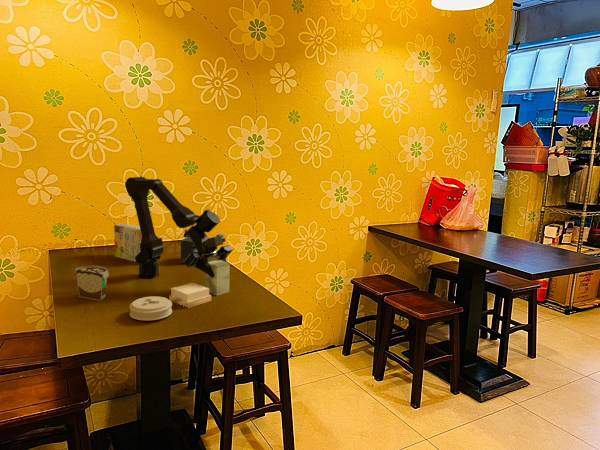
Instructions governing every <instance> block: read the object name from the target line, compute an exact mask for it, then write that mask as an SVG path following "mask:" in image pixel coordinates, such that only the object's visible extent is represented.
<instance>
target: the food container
mask: <svg viewBox="0 0 600 450" xmlns="http://www.w3.org/2000/svg"><path fill="white" fill-rule="evenodd" d="M74 275H76V282H77V285H76V286H77V291H78V298H84V299H88V300H94V301H97V302H102V301H104V300H105V299H106V295H107V281H108V277H109V276H110V273H109V270H108V268H107V267H105V266H102V265H100V266H99V265H86V266H79V267H75V270H74Z"/></svg>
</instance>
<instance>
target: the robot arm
mask: <svg viewBox="0 0 600 450" xmlns="http://www.w3.org/2000/svg"><path fill="white" fill-rule="evenodd" d="M124 187H125V190H126V192H127V194H128V196H129V198H130V199H131V200H132V201H133V204H134V207H135V208H134V209H135V212H136V216H137V221H138V226H139V227H140V230H141V234H142V240H141V243H140V252H139V254H138V255H137V256H136V257H135V260H136V262H135V263H137V264H138V273H139V274H138V275H137V278H139V279H140V278H141V279H143V278H144V279H154V278H156V277H158V276H159V275H160V271H159V269H160V268H159V267H160V266H159V264H158V260H160V259H161V256H162V255H163V253H164V248H165V245H164V242H163V238H162V237H158V236H157V235H156V232H155V228H154V223H153V219H152V215H151V211H150V205H149V201H148V196H149V193H150V191H152V193H153V194H154V195H155V196H156V197H157V198H158V199H159V201H161V202H160V203H162V204H163V206H165V208H167V210H168V211H169V213H170V214H171V218H172V221H173V222H174V223H175V225H176V226H177V228H179V229H185V228H188V229H185V230H184V233H183V236H182V237H183V238H187V237H190V239H191V240H192V242H193V244H194V247H193V249H194V250H196V249H197V251H198V252H193V253H190V255H189V256H188V257H187V258H186V260H185V263H184V264H185V266H186V268H192V267H193V268H194V269H195V268H196V269H198V270H199V271H201V272H203V273H205V275H206V274H208V275H209V276H211V277H212V278H213V277H214V276H215V275H214V273H213V271H212V269H211V267H210V265H209V264H208V262H209V259H212V258H215V259H216V260H222V261H226V262H227V258H228V257H229V255H231V253H232V252H233V251H234V249H233V248H232V246H231V245H224V242H226V237H225V235H224V234H223V233H220V234H217V235H216V236H212V237H211V236H208V235H207V233H211V231H213V229H215V228H216V226H218V225H219V224H220V223H221V219H220V217H219V215H218V214H215V212H213V211H211V210H210V209H209V208H207V209H205V210H204V211H203V212H202V213H201V215H199V214H196V213H195V212H194V211H193V210H191V209H190V208H189V207H188V206H186V205H184V204H181V202H180V201H179V200H178V199H177V198H176V197H175V196H174V194H173V193H172V192H171V191H170V190H169V189H168V187H166V186H165V184H164V183H163V181H162V180H161V179H159V178H151V179H150V178H149V179H148V178H146V177H145V176H133V177H131V176H130V177H129V178H127V179H126V181H125V182H124ZM222 245H223V246H222ZM219 246H220V247H219ZM218 248H219V249H218ZM194 262H195V263H194Z"/></svg>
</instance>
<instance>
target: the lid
mask: <svg viewBox="0 0 600 450" xmlns="http://www.w3.org/2000/svg"><path fill="white" fill-rule="evenodd" d="M172 307H173V302H172V301H170V300H169V299H168V298H167V297H163V296H155V295H154V296H153V295H151V296H144V297H141V298H137V299H135V300H134V301H132V302H131V303H130V304H129V310H130V311H129V316H130V317H131V318H132V319H135V320H139V321H156V320H160V319H161V320H162V319H165V318H166V317H169V316H170V315H172V314H173V309H172Z"/></svg>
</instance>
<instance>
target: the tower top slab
mask: <svg viewBox="0 0 600 450" xmlns="http://www.w3.org/2000/svg"><path fill="white" fill-rule="evenodd" d="M170 289H171V290H170V292H171V293H170V295H172V296H175V297H177V298H179V299H182V300H184V301H187V302H189V301H192V300H195V299H199V298H202V297H206V296H209V295H210V293H209V288H206V286H204V285H200V284H197V283H195V282H189V283H185V284H182V285H179V286H174V287H171V288H170Z"/></svg>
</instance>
